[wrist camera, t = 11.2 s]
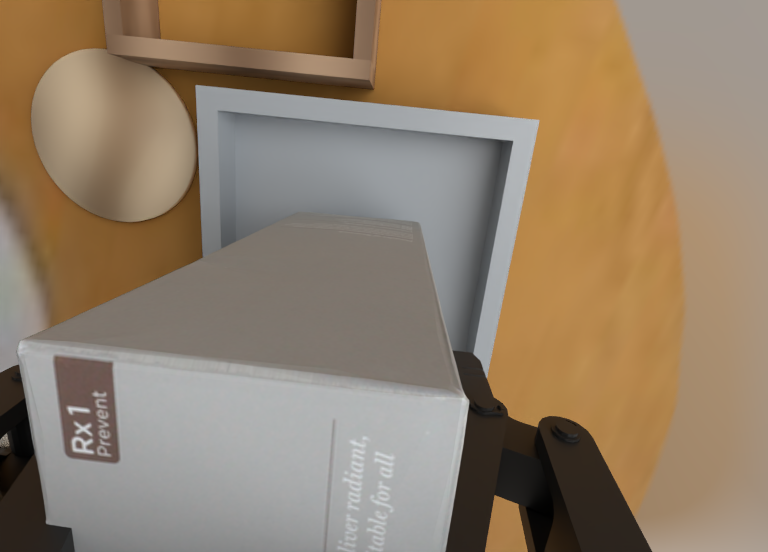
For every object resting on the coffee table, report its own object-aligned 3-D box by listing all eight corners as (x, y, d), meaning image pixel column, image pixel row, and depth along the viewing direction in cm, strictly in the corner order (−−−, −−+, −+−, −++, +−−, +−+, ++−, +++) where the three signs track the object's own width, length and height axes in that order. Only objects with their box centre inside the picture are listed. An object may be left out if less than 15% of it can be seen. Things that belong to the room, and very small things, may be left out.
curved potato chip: (52, 212, 24) (45, 213, 23) (26, 42, 21) (17, 40, 21) (201, 228, 24) (197, 229, 23) (194, 59, 21) (189, 57, 20)
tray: (229, 383, 27) (209, 411, 24) (223, 93, 21) (195, 84, 19) (466, 410, 27) (473, 441, 24) (520, 124, 21) (539, 120, 18)
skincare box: (406, 361, 23) (446, 794, 7) (279, 350, 22) (59, 769, 7) (425, 211, 20) (544, 414, 5) (281, 198, 20) (-56, 364, 5)
